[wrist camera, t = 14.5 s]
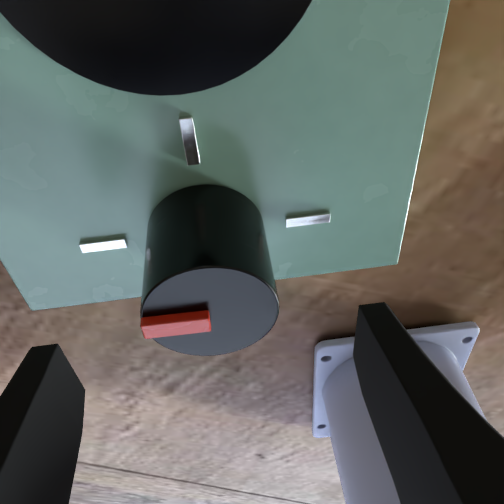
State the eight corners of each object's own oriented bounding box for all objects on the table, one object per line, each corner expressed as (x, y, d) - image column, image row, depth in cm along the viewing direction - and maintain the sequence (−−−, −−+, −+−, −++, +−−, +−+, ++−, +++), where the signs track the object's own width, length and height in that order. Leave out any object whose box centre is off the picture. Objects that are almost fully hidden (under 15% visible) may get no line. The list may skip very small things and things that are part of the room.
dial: (261, 177, 14) (280, 267, 11) (264, 265, 16) (281, 357, 13) (135, 190, 13) (124, 284, 11) (158, 277, 16) (154, 372, 13)
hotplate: (377, 251, 19) (394, 290, 18) (54, 292, 19) (42, 336, 17) (484, -442, 8) (557, -502, 6) (-305, -376, 8) (-429, -424, 6)
